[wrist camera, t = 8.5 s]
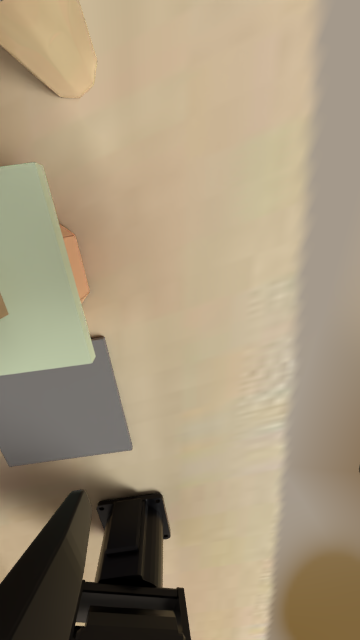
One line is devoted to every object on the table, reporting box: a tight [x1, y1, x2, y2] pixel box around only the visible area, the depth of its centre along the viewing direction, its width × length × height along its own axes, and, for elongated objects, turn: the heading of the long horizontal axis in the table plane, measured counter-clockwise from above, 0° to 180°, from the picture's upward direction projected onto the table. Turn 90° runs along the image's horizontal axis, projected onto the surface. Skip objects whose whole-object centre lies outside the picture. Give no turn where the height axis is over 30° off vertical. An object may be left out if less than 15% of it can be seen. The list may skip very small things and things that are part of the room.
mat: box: [0, 337, 132, 467], centre depth 21 cm, size 11×11×1 cm
